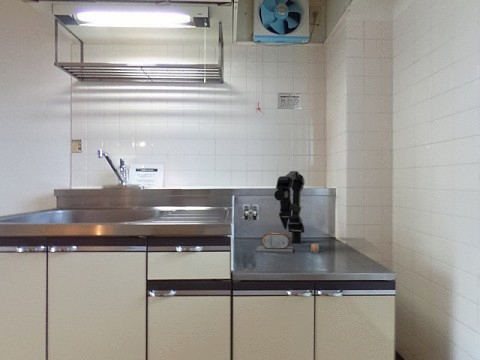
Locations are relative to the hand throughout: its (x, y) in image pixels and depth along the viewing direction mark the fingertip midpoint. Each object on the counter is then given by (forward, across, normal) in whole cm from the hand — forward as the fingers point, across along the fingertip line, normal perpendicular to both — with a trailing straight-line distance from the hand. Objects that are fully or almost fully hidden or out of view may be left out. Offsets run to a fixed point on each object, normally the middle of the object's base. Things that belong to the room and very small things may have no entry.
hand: (285, 227), depth 180 cm
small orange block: (+12, -5, -15) cm, 20 cm away
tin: (+11, -5, +5) cm, 13 cm away
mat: (+11, -5, +6) cm, 14 cm away
